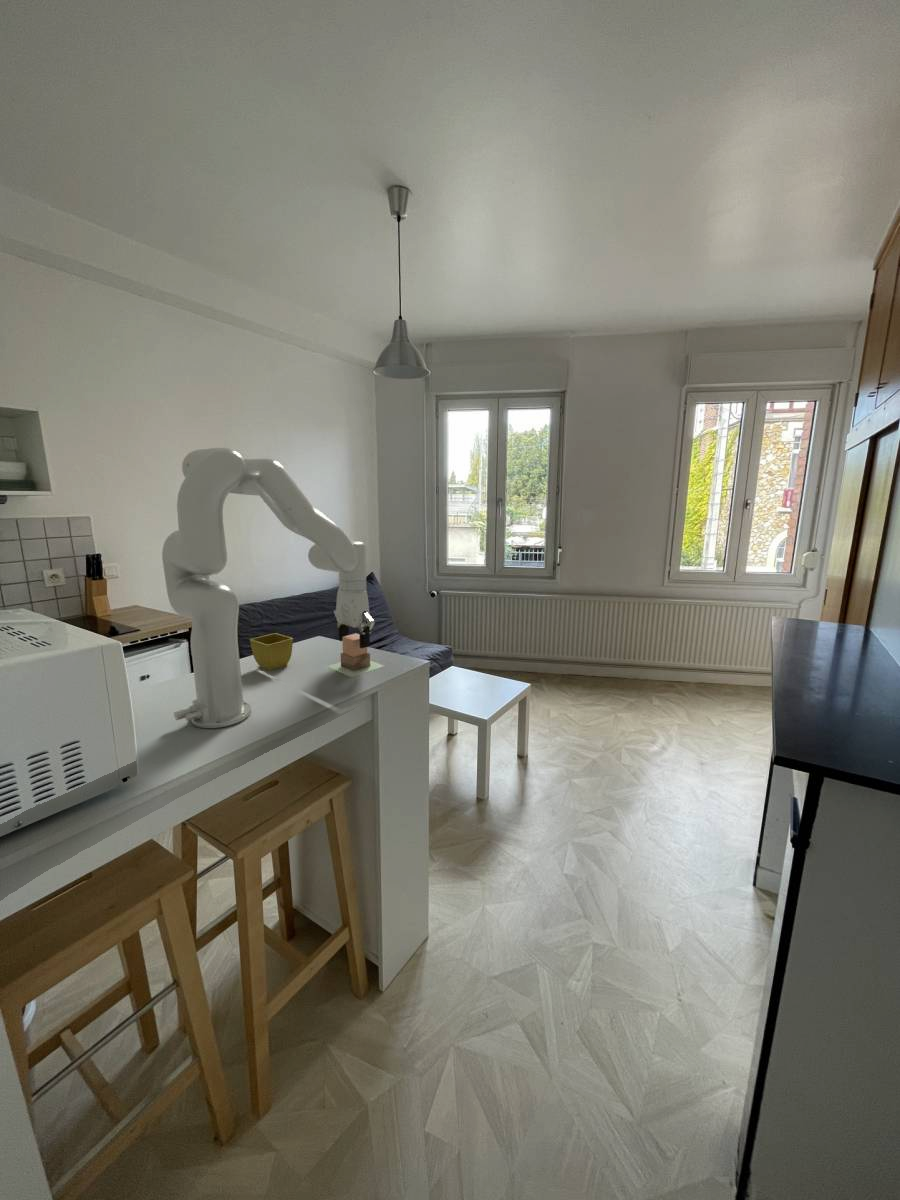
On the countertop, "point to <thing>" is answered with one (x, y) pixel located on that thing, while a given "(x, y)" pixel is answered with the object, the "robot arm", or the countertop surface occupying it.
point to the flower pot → (272, 650)
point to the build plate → (354, 673)
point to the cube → (353, 645)
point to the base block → (355, 661)
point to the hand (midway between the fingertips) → (354, 643)
